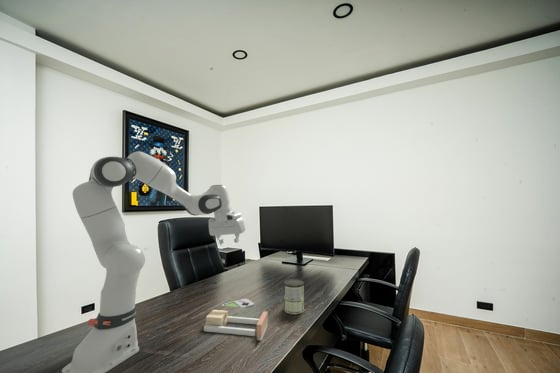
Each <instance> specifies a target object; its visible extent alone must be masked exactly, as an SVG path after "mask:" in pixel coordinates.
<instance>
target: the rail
mask: <svg viewBox="0 0 560 373" xmlns="http://www.w3.org/2000/svg"><path fill="white" fill-rule="evenodd" d="M268 317H269V312H268V311H266V310H265V311H264V310H263V312H262V313H261V315H260V317H259V318H253V317H245V316H231V315H228V322H227V324H226V325H225V326H213V325H206V324H205V325H204V326H203V330H201V332H202V333H204V332H205V333H212V334H221V335H224V334H225V335H230V336H231V335H232V336H233V335H235V336H239V337H241V336H242V337H244V336H245V337H253V338H256V341H262V340H263V339H264V338H263V337H264V334H265V332H266V330H267V328H268V325H269V324H268V323H269V321H268V319H269V318H268Z"/></svg>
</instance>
